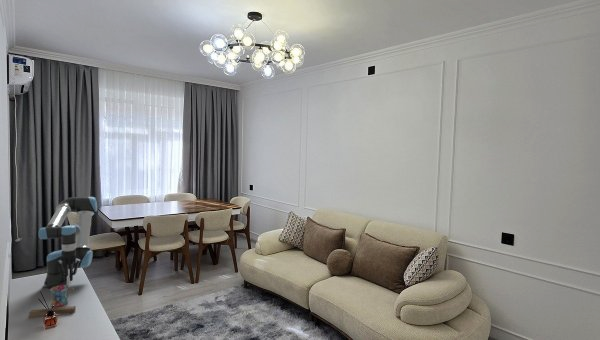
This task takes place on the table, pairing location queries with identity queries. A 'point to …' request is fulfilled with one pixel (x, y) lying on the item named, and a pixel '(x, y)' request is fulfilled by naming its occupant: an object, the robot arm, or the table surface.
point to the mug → (60, 295)
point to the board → (57, 310)
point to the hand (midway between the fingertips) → (69, 285)
